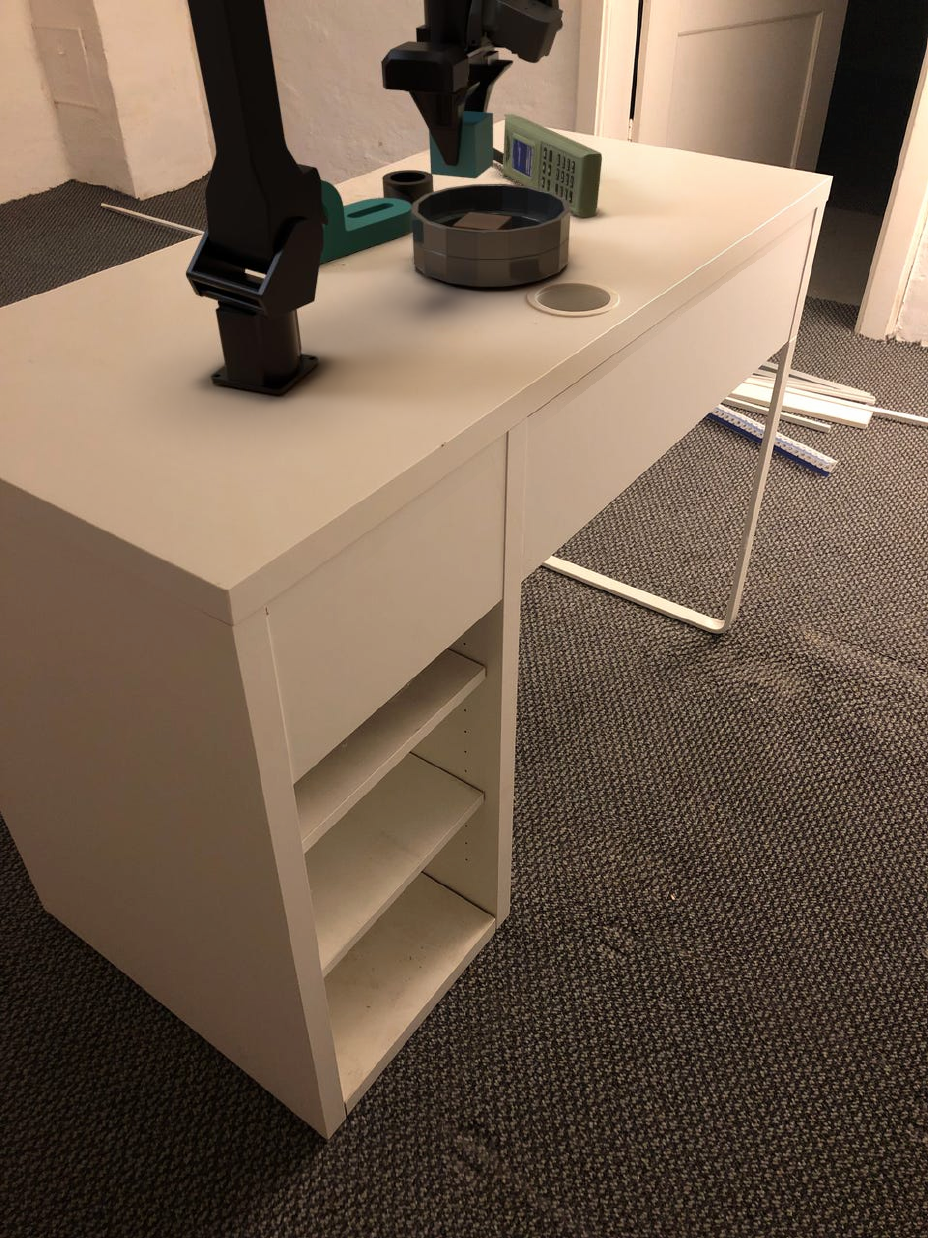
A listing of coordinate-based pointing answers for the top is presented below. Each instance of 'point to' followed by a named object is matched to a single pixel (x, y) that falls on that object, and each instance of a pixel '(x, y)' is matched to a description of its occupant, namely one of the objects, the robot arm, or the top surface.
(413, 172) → the duct tape
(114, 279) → the top surface
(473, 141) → the teal block
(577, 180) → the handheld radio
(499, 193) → the faceted round tray
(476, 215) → the walnut block
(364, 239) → the bracket
